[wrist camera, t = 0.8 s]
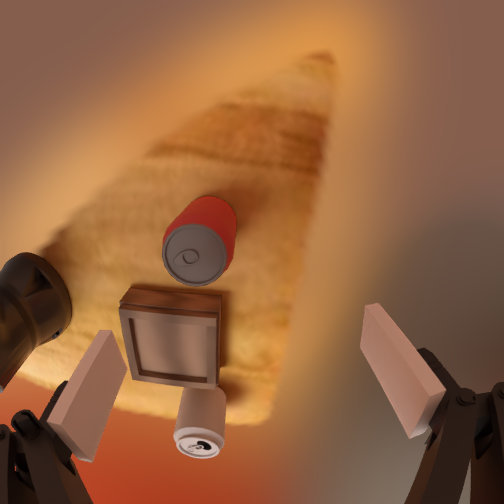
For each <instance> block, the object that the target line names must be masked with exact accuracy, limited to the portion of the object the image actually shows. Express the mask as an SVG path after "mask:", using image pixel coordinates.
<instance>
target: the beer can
mask: <svg viewBox="0 0 504 504" xmlns="http://www.w3.org/2000/svg"><path fill="white" fill-rule="evenodd" d="M236 226H237V222H236V216H235V213H234V211H233V210H232V208H231V206H229V205H228V204H227V203H226V202H225V201H224V200H222V199H219V198H217V197H211V196H206V197H201V198H198V199H196V200H195V201H193V202H191V204H190V205H189V206H188V207H187V208H186V209H185V210H184V211H183V212H182V213H181V214H180V215H179V216H178V217H177V218H176V219H175V220H174V221H173V222H172V223H171V224H170V225H169V227H168V228H167V230H166V233H165V235H164V238H163V249H162V258H163V262H164V266H165V267H166V269H167V271H168V272H169V274H170V275H171V276H172V277H174V278H175V279H176V280H177V281H179V282H181V283H183V284H185V285H189V286H195V287H197V286H204V285H208V284H210V283H212V282H214V281H215V280H217V279H218V278H219V277H220V276H221V275H222V274H223V273H224V272H225V271H226V270H227V268H228V267H229V265H230V263H231V261H232V259H233V254H234V248H235V237H236Z"/></svg>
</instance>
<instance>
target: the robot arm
mask: <svg viewBox="0 0 504 504" xmlns="http://www.w3.org/2000/svg"><path fill="white" fill-rule="evenodd" d="M70 320H71V302H70V298H69V295H68V292H67V289H66V287H65V285H64V283H63V281H62V279H61V278H60V276H59V275H58V273H57V272H56V271H55V270H54V268H53V267H52V266H51V265H50V264H49V263H48V262H47V261H45V260H44V259H43V258H41V257H39V256H38V255H35V254H33V253H28V252H25V253H20V254H18V255H16V256H14V257H13V258H11V259H10V260H9V261H8V262H6V264H5V265H4V267H3V268H2V270H1V271H0V393H2V392H3V390H4V388H5V387H6V386H7V384H8V383H9V382H10V380H11V379H12V377H13V376H14V375H15V373H16V372H17V371H18V369H19V368H20V367H21V365H22V364H23V363H24V361H25V360H26V359H27V358H28V356H29V355H30V354H31V353H32V351H33V350H34V349H35V348H36V347H38V346H40V345H43V344H45V343H47V342H49V341H51V340H53V339H55V338H57V337H58V336H60V335H61V334H62V333H63V331H64V330H65V329H66V328H67V326H68V325H69V323H70ZM360 348H361V350H362V352H363V353H364V355H365V357H366V359H367V361H368V362H369V364H370V366H371V368H372V370H373V371H374V373H375V375H376V377H377V379H378V380H379V382H380V384H381V386H382V388H383V390H384V391H385V393H386V395H387V397H388V399H389V401H390V403H391V405H392V406H393V408H394V410H395V412H396V414H397V416H398V418H399V420H400V422H401V423H402V425H403V427H404V429H405V431H406V433H407V435H408V437H409V439H410V438H412V437H415V436H417V435H420V434H422V433H424V432H425V431H426V429H427V427H428V425H430V427H431V429H432V432H431V434H430V436H429V437H428V439H427V441H426V442H425V444H427V446H426V450H425V453H424V455H423V458H422V461H421V464H420V467H419V470H418V472H417V475H416V477H415V480H414V482H413V485H412V487H411V490H410V492H409V494H408V497H407V499H406V501H405V503H404V504H458V502H459V499H460V496H461V492H462V489H463V486H464V482H465V478H466V474H467V470H468V466H469V461H470V459H471V493H470V504H504V382H499V383H497V384H496V385H494V387H493V389H492V391H491V392H487V393H481V394H476V393H475V392H473V391H472V390H470V389H467V388H460V387H459V385H458V384H457V383H456V382H455V380H454V379H453V378H452V377H451V375H450V374H449V373H448V371H447V370H446V369H445V368H443V365H442V364H441V363H440V362H439V361H438V359H437V358H436V357H435V355H434V354H433V353H432V352H430V351H429V350H427V349H425V348H421V349H418V350H416V349H415V348H414V346H413V345H412V344H411V343H410V341H409V340H408V339H407V338H406V336H405V335H404V334H403V333H402V331H401V330H400V329H399V328H398V326H397V325H396V324H395V323H394V321H393V320H392V319H391V318H390V316H389V315H388V314H387V313H386V312H385V310H384V309H383V308H382V307H381V306H380V304H379V303H376V304H371V305H365V312H364V322H363V329H362V337H361V344H360ZM126 372H127V367H126V364H125V362H124V360H123V357H122V355H121V353H120V350H119V348H118V345H117V343H116V340H115V337H114V335H113V332H112V330H100V331H99V332H98V334H97V335H96V337H95V338H94V340H93V342H92V343H91V345H90V346H89V348H88V350H87V351H86V353H85V354H84V356H83V358H82V359H81V361H80V363H79V364H78V366H77V368H76V369H75V371H74V373H73V374H72V376H71V378H70V380H69V381H64V382H63V383H62V384H60V385H59V386H58V387H57V389H56V391H55V392H54V394H53V395H54V396H52V398H51V399H50V402H49V403H48V405H47V407H46V408H45V410H44V412H43V414H42V416H41V418H40V419H39V420H38V419H37V418H36V416H35V415H34V414H33V413H32V412H31V411H30V410H21V411H19V412H17V413H16V414H15V415H14V416H13V418H12V420H11V425H12V427H13V428H14V429H15V430H16V432H12V431H11V430H10V429H9V427H8V426H6V425H5V424H0V504H93V502H92V500H91V498H90V496H89V494H88V492H87V490H86V488H85V486H84V484H83V482H82V480H81V478H80V476H79V473H78V471H77V469H76V466H75V464H74V462H73V461H72V459H71V458H70V457H71V454H72V453H73V454H74V455H75V456H76V457H77V458H78V459H79V460H83V461H87V462H92V463H93V460H94V457H95V454H96V451H97V448H98V445H99V442H100V439H101V436H102V434H103V431H104V428H105V425H106V423H107V420H108V417H109V415H110V412H111V409H112V407H113V404H114V402H115V399H116V396H117V394H118V391H119V389H120V386H121V384H122V381H123V379H124V376H125V374H126ZM15 466H16V471H15Z"/></svg>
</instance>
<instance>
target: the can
mask: <svg viewBox="0 0 504 504" xmlns="http://www.w3.org/2000/svg"><path fill="white" fill-rule="evenodd" d="M225 417H226V395H225V392H224V391H223V390H222V389H221V388H219V387H217V386H216V390H211V389H200V388H190V387H185V388H184V390H183V392H182V397H181V402H180V406H179V411H178V416H177V421H176V426H175V431H174V440H175V441H176V443H177V444H176V445H177V448H178V449H179V451H181V452H182V453H184V454H186V455H188V456H191V457H195V458H210V457H214V456H216V455H217V454H218V453H219V451H220V449H221V448H222V447H223V446H224V436H225Z"/></svg>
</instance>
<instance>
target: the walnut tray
mask: <svg viewBox="0 0 504 504" xmlns="http://www.w3.org/2000/svg"><path fill="white" fill-rule="evenodd" d="M221 304H222V296H217V295H203V294H190V293H178V292H166V291H155V290H145V289H135V288H129V289H128V291H127V292H126V294H125V295H124V296H123V298H122V299H121V300H120V307H119V315H120V321H121V327H122V332H123V338H124V343H125V348H126V353H127V357H128V362H129V366H130V371H131V375H132V379H133V380H138V381H144V382H151V383H157V384H164V385H172V386H180V387H190V388H200V389H211V390H216V385H217V386H218V383H219V372H220V337H221Z"/></svg>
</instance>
